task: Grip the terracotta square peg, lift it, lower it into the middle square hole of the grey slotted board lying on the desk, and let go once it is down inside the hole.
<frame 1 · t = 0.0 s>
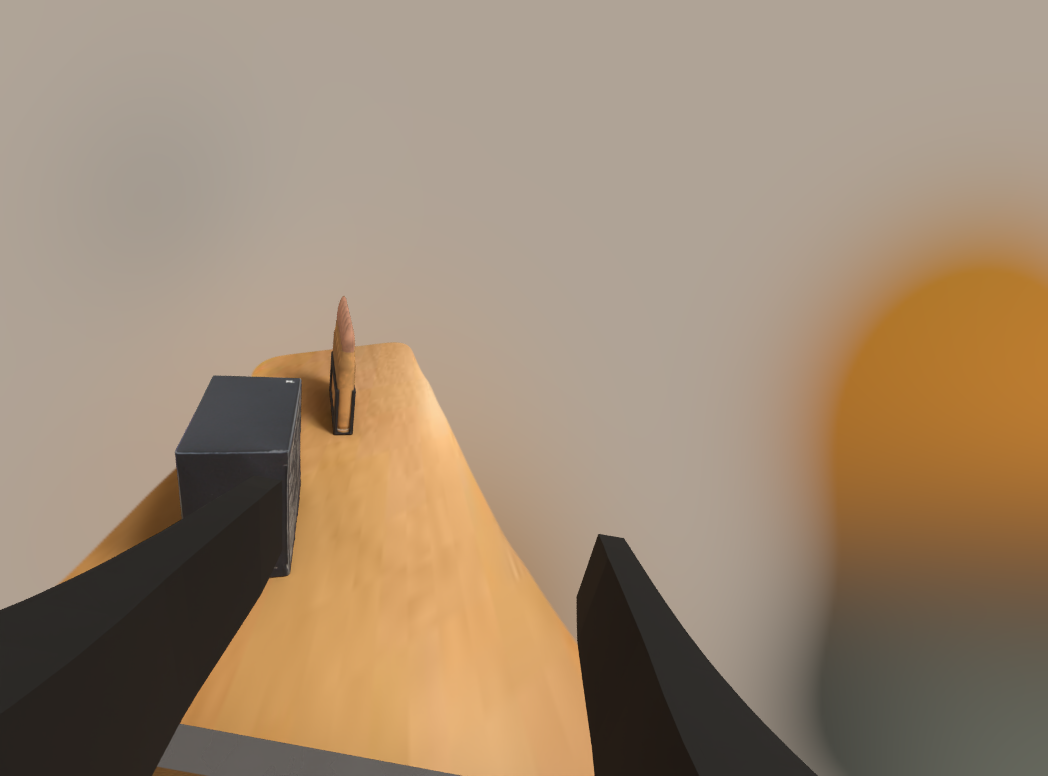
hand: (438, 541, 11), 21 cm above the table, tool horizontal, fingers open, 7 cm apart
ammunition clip: (340, 412, 56), on the table
small box: (250, 530, 38), on the table
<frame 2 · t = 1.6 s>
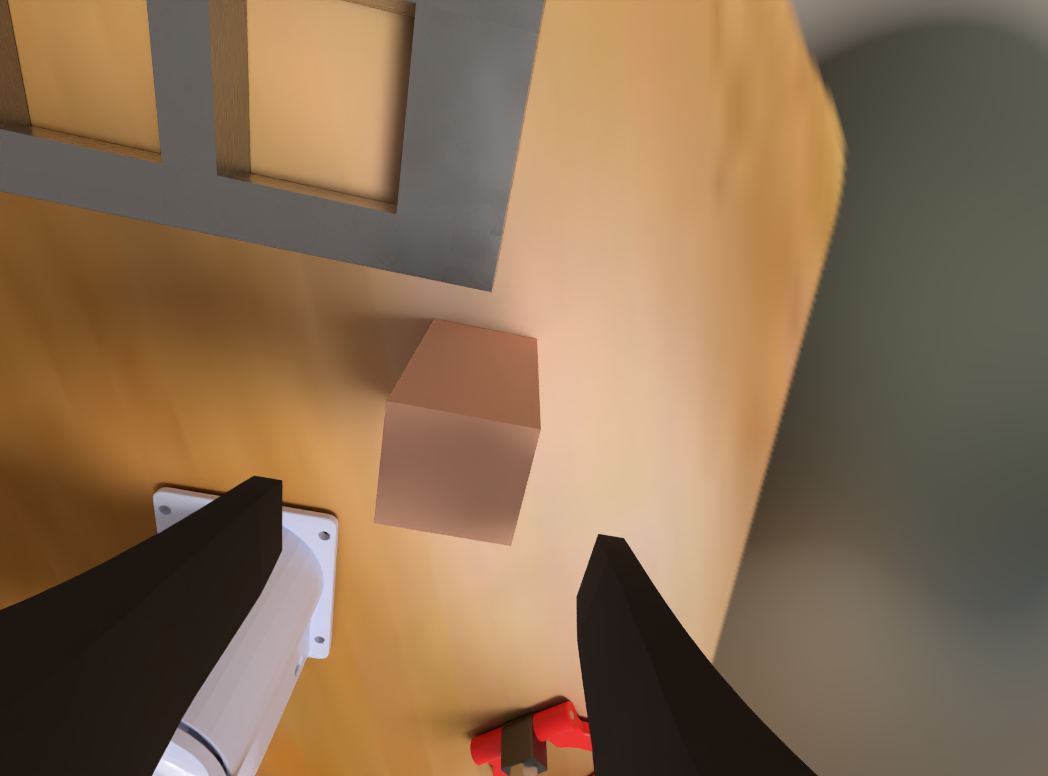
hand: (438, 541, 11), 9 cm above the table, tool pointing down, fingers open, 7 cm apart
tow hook: (557, 748, 31), on the table
grey slotted board: (105, 48, 15), on the table
peg: (477, 375, 20), on the table
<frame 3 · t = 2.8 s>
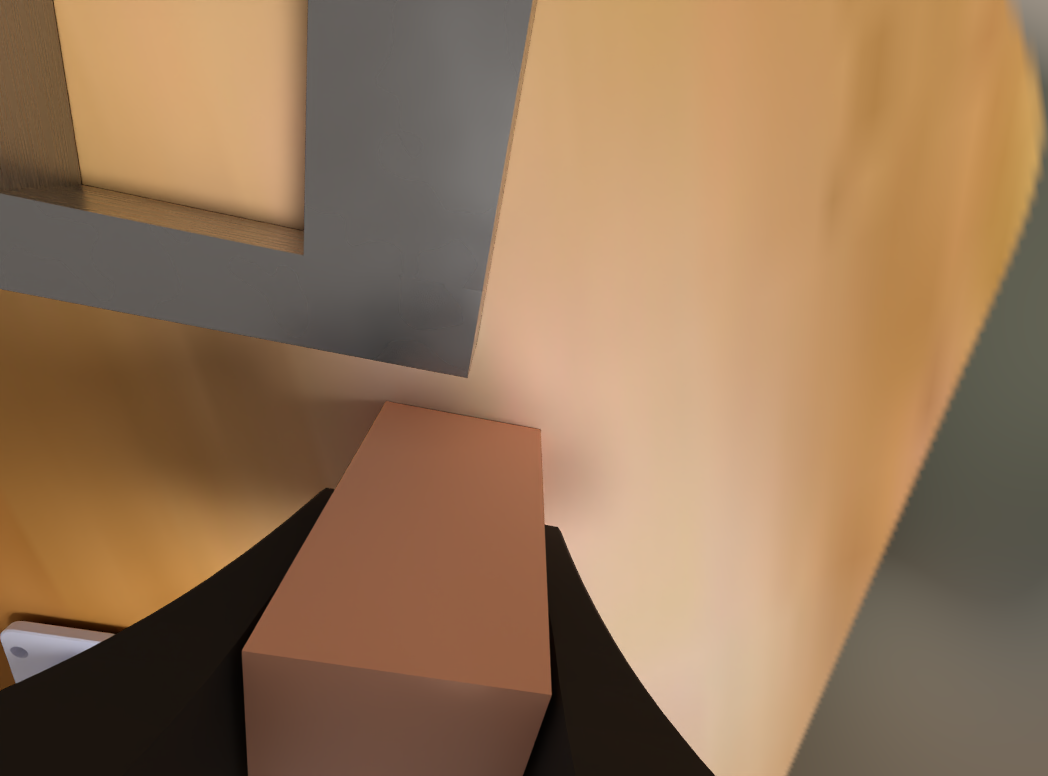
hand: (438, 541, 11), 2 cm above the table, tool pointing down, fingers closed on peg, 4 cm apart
peg: (453, 478, 14), on the table, touching gripper
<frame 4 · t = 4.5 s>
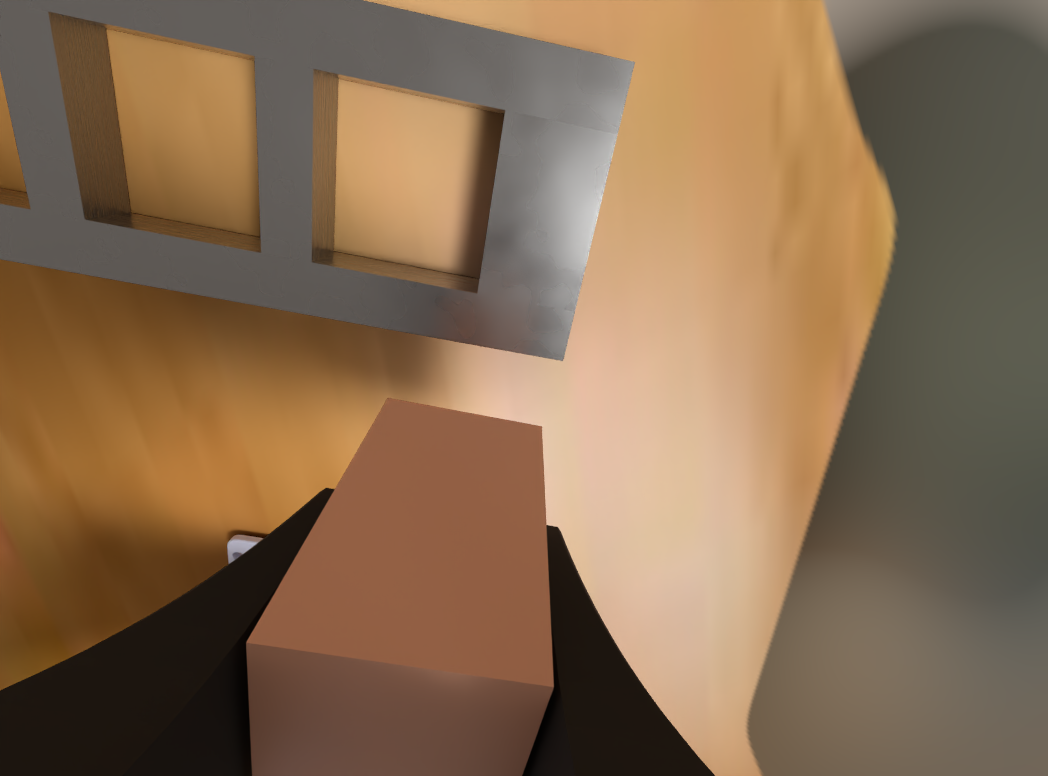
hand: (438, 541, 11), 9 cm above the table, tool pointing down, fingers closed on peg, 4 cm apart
grey slotted board: (204, 144, 16), on the table
peg: (454, 475, 14), point 7 cm above the table, touching gripper
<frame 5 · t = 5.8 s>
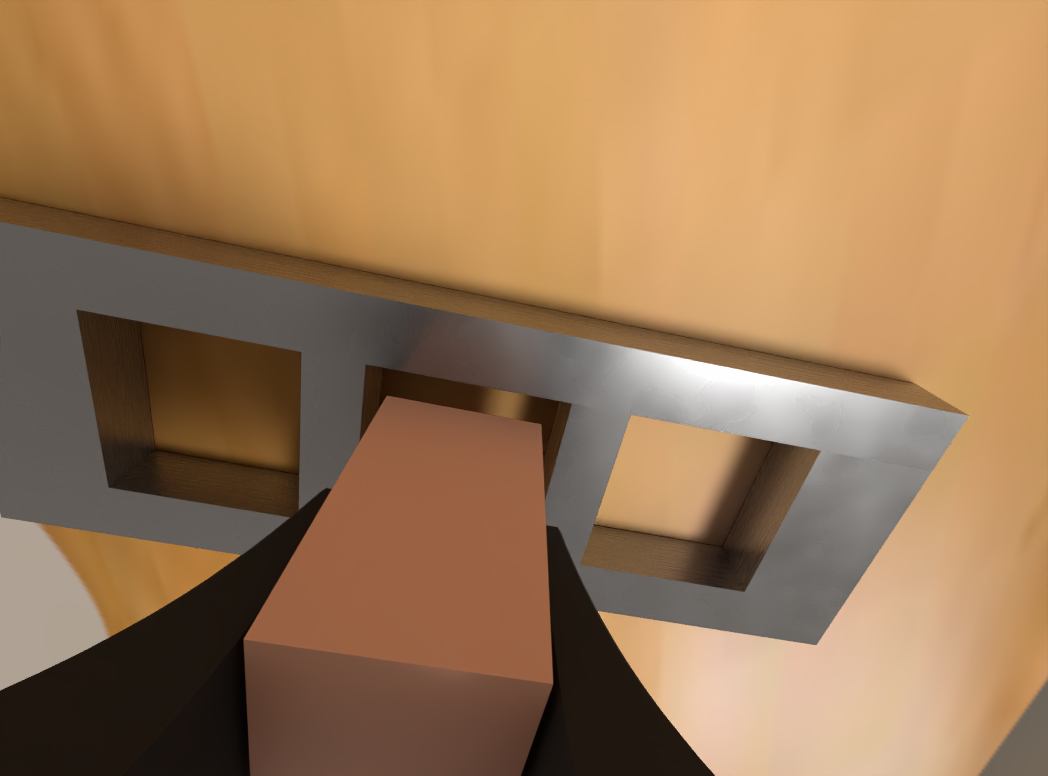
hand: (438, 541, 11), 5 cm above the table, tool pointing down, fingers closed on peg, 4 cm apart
grey slotted board: (463, 433, 16), on the table
peg: (453, 473, 14), point 2 cm above the table, touching gripper
when the fingers open (3 cm above the table, at t = 6.5 s): peg stays where it is, resting in grey slotted board.
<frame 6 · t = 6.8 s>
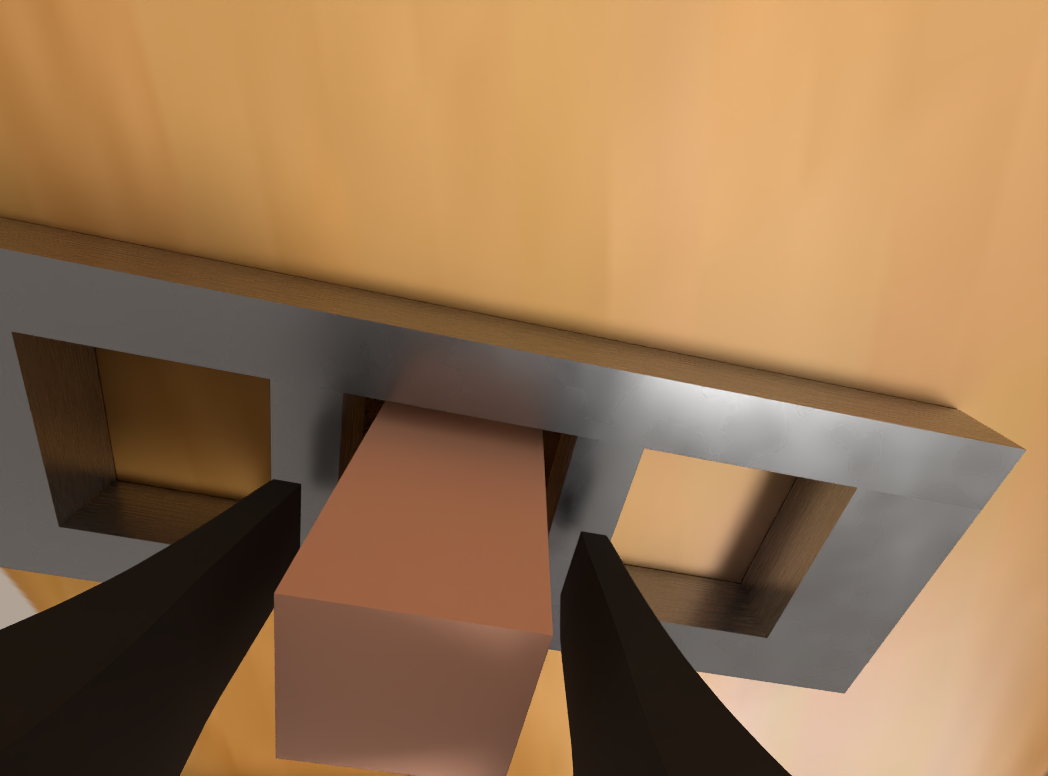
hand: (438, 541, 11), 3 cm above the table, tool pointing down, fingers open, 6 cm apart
grey slotted board: (456, 463, 14), on the table
peg: (458, 459, 14), resting in grey slotted board
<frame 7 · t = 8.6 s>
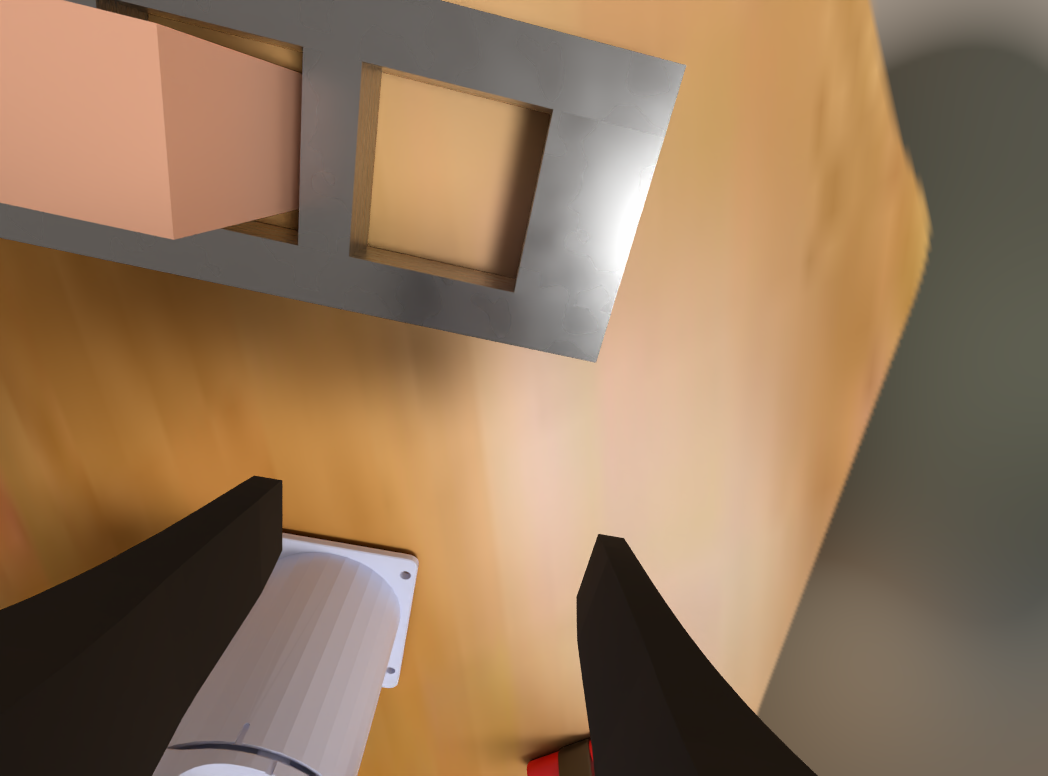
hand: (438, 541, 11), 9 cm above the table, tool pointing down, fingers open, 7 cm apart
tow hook: (607, 771, 32), on the table
grey slotted board: (241, 133, 16), on the table
peg: (243, 130, 16), resting in grey slotted board
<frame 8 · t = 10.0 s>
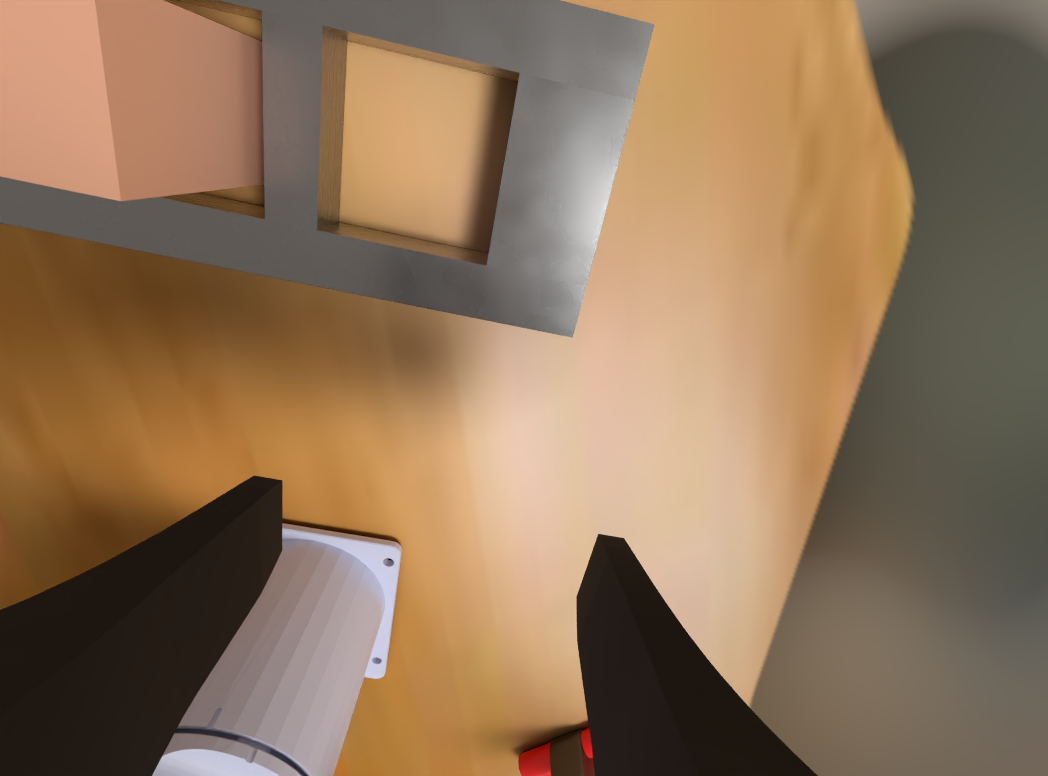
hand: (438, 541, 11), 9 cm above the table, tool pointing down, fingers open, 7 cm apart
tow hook: (601, 763, 32), on the table
grey slotted board: (207, 107, 16), on the table
peg: (209, 104, 16), resting in grey slotted board
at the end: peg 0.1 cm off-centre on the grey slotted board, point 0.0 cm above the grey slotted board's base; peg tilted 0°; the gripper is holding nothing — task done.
